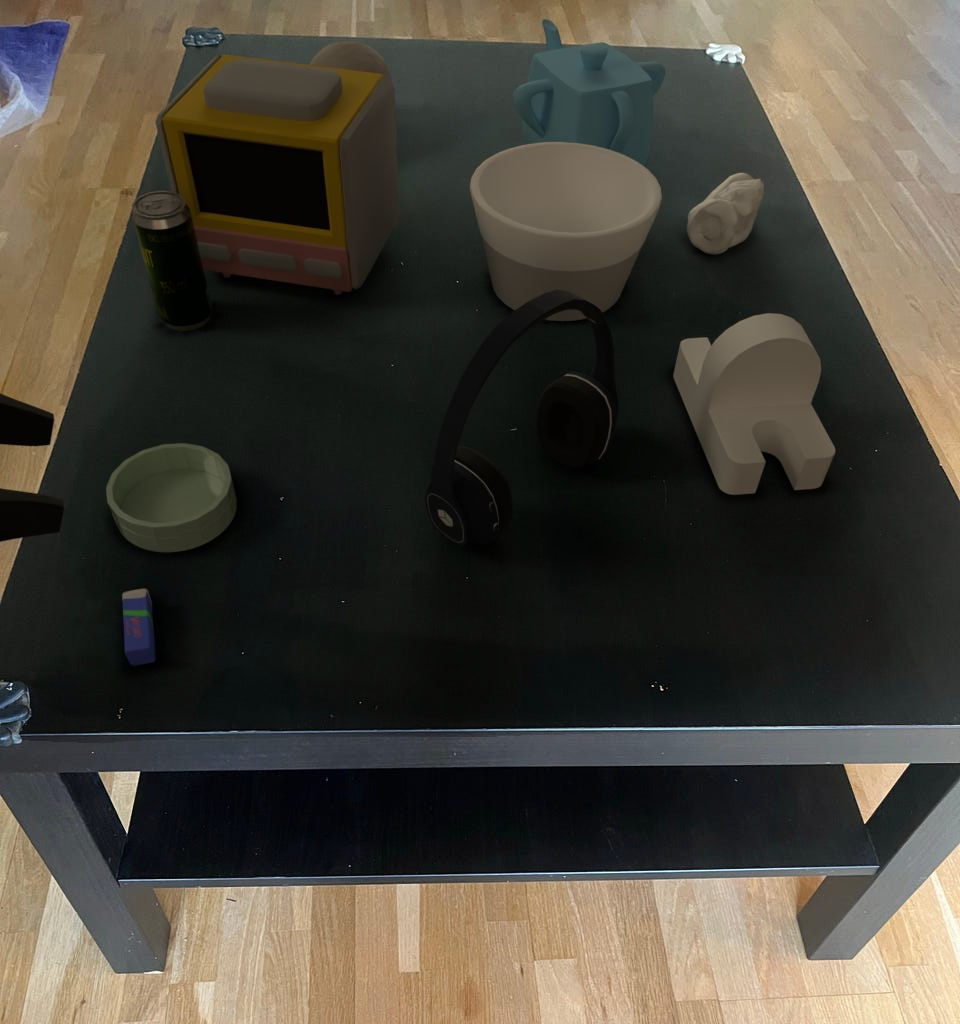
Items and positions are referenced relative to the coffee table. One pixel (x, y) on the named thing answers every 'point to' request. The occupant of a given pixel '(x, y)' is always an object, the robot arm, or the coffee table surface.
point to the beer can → (172, 259)
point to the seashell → (351, 58)
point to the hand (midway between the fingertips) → (56, 471)
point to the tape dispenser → (755, 402)
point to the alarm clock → (285, 169)
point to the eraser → (138, 627)
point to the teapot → (589, 97)
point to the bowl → (562, 221)
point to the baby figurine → (726, 214)
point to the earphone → (560, 425)
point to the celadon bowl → (172, 497)
